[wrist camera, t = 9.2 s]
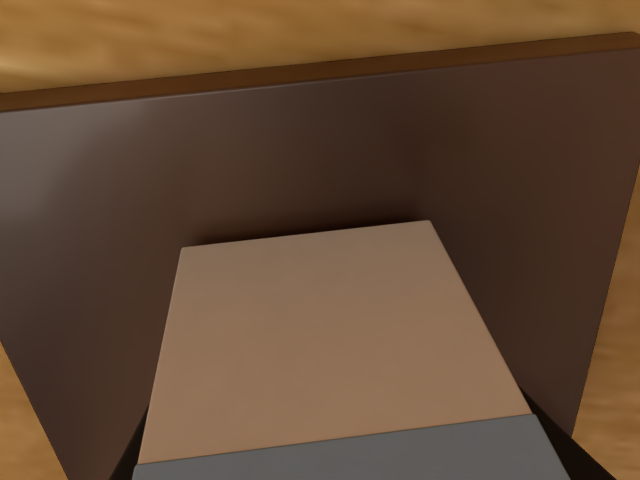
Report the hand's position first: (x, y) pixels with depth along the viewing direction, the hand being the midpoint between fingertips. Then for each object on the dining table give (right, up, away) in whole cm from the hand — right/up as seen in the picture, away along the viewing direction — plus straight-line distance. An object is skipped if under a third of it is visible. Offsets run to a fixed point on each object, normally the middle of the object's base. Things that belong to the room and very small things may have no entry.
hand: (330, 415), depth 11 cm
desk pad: (0, +2, +3) cm, 4 cm away
